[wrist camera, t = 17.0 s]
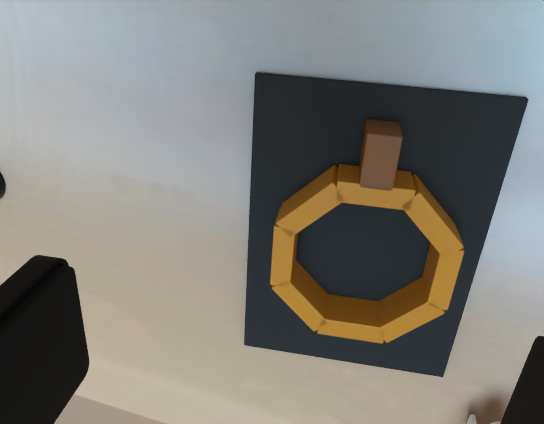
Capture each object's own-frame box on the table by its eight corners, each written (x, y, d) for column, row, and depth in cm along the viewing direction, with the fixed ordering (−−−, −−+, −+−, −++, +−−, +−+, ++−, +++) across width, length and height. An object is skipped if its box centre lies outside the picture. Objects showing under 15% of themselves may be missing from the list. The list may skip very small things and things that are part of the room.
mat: (256, 72, 30) (255, 73, 29) (526, 96, 28) (528, 99, 27) (245, 341, 40) (244, 345, 39) (442, 372, 38) (443, 377, 37)
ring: (287, 110, 30) (280, 124, 27) (482, 130, 28) (495, 146, 26) (273, 300, 37) (266, 326, 34) (430, 323, 35) (436, 352, 33)
